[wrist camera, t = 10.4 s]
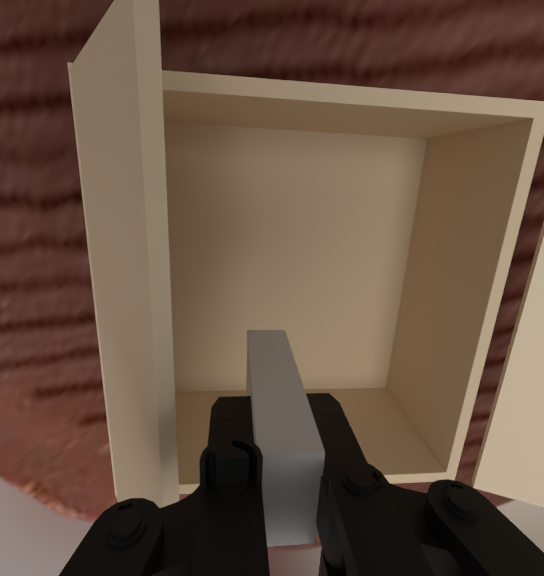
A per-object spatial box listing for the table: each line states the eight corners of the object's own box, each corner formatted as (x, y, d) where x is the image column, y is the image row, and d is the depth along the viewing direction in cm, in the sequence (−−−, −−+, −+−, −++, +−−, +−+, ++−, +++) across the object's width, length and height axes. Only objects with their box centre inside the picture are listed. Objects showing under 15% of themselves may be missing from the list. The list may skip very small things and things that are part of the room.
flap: (69, 67, 13) (131, -26, 6) (85, 70, 13) (158, -17, 7) (118, 511, 19) (173, 678, 13) (128, 507, 19) (186, 668, 13)
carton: (136, 109, 23) (67, 62, 14) (433, 130, 25) (551, 102, 16) (153, 397, 30) (116, 499, 20) (389, 392, 32) (453, 482, 23)
